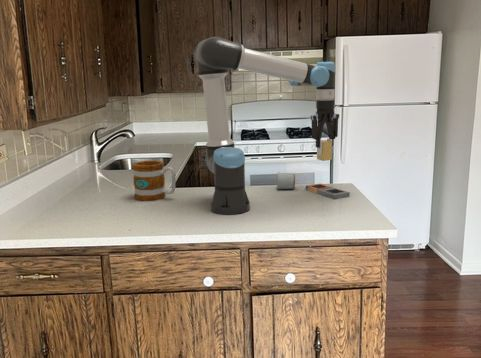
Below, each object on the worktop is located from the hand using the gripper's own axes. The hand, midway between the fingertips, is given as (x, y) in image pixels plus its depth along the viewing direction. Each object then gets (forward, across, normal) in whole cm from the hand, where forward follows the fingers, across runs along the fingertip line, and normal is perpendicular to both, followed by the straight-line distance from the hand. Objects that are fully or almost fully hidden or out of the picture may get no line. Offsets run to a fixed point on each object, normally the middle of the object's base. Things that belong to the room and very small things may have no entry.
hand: (324, 154), depth 200 cm
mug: (+17, -67, +29) cm, 75 cm away
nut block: (+2, 0, 0) cm, 2 cm away
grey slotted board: (+17, 0, -2) cm, 17 cm away
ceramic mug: (+17, -11, +15) cm, 25 cm away
